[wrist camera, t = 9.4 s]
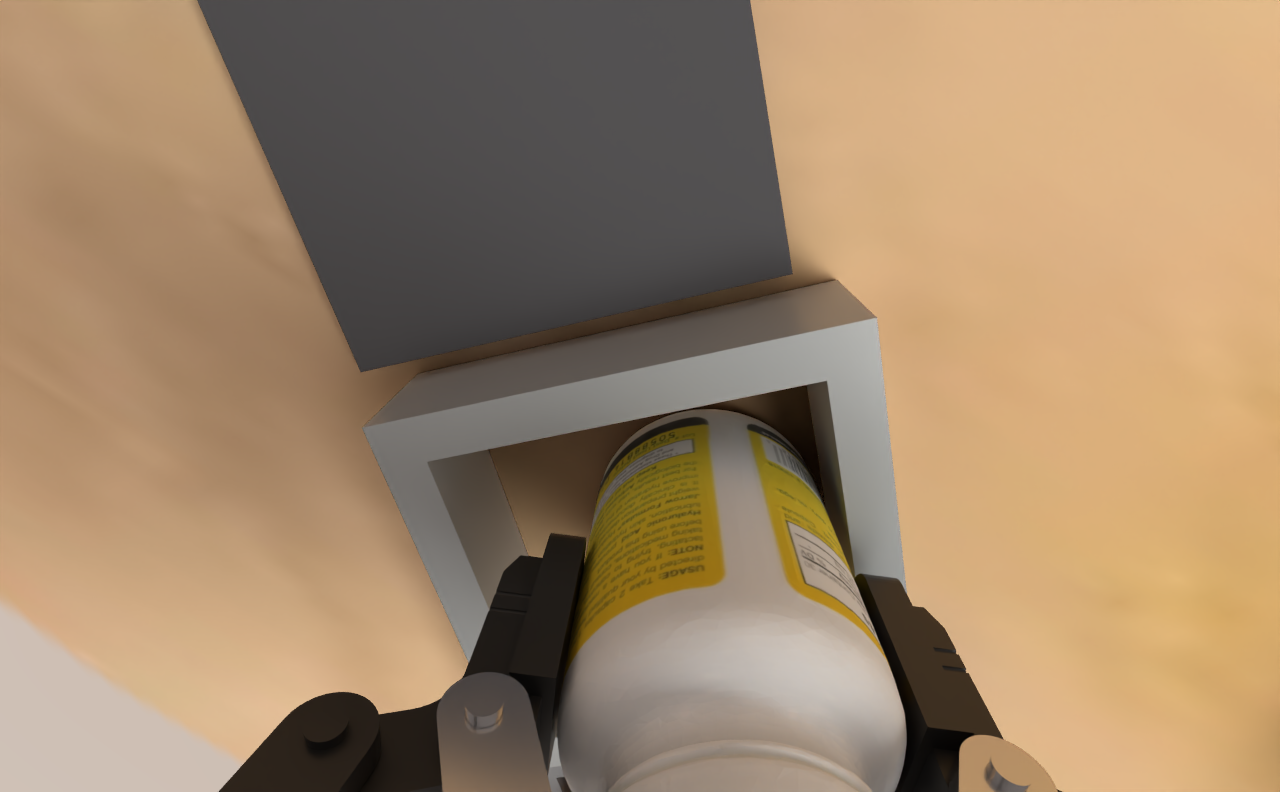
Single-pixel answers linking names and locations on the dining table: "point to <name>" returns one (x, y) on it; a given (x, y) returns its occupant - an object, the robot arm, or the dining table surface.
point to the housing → (628, 390)
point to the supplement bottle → (722, 627)
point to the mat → (510, 158)
